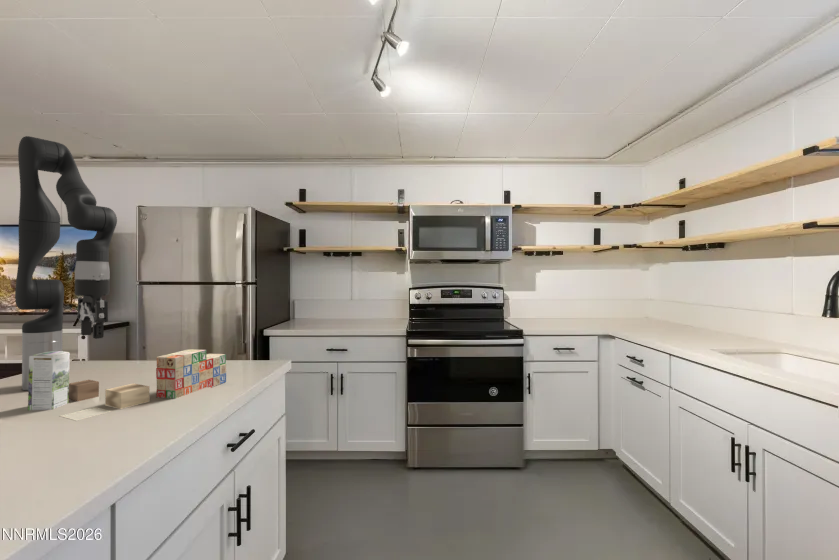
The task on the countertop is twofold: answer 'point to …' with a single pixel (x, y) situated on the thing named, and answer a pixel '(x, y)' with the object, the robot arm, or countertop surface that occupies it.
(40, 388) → the syrup box
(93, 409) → the pale flat slab
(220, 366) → the stack of blocks
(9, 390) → the countertop surface
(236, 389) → the countertop surface
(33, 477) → the countertop surface
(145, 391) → the maple block
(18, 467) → the countertop surface
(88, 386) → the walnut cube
